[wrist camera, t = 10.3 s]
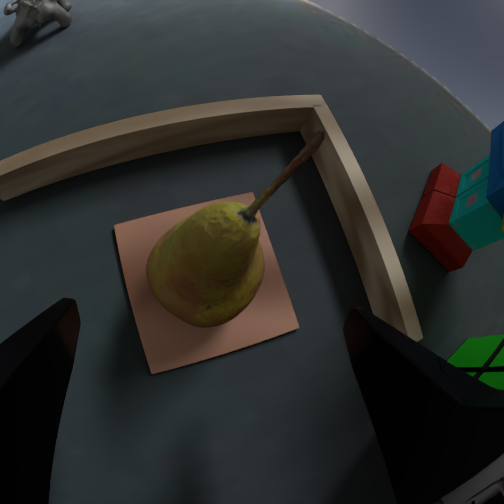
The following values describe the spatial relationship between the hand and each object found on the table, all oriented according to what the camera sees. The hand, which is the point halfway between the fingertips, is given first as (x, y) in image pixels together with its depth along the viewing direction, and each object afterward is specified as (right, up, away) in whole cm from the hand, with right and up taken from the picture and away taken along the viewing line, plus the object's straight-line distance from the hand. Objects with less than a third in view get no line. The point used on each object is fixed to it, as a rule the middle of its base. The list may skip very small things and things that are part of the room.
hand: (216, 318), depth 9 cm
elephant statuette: (-24, +30, +12) cm, 40 cm away
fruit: (-2, 0, +8) cm, 9 cm away
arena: (-3, +1, +9) cm, 9 cm away
